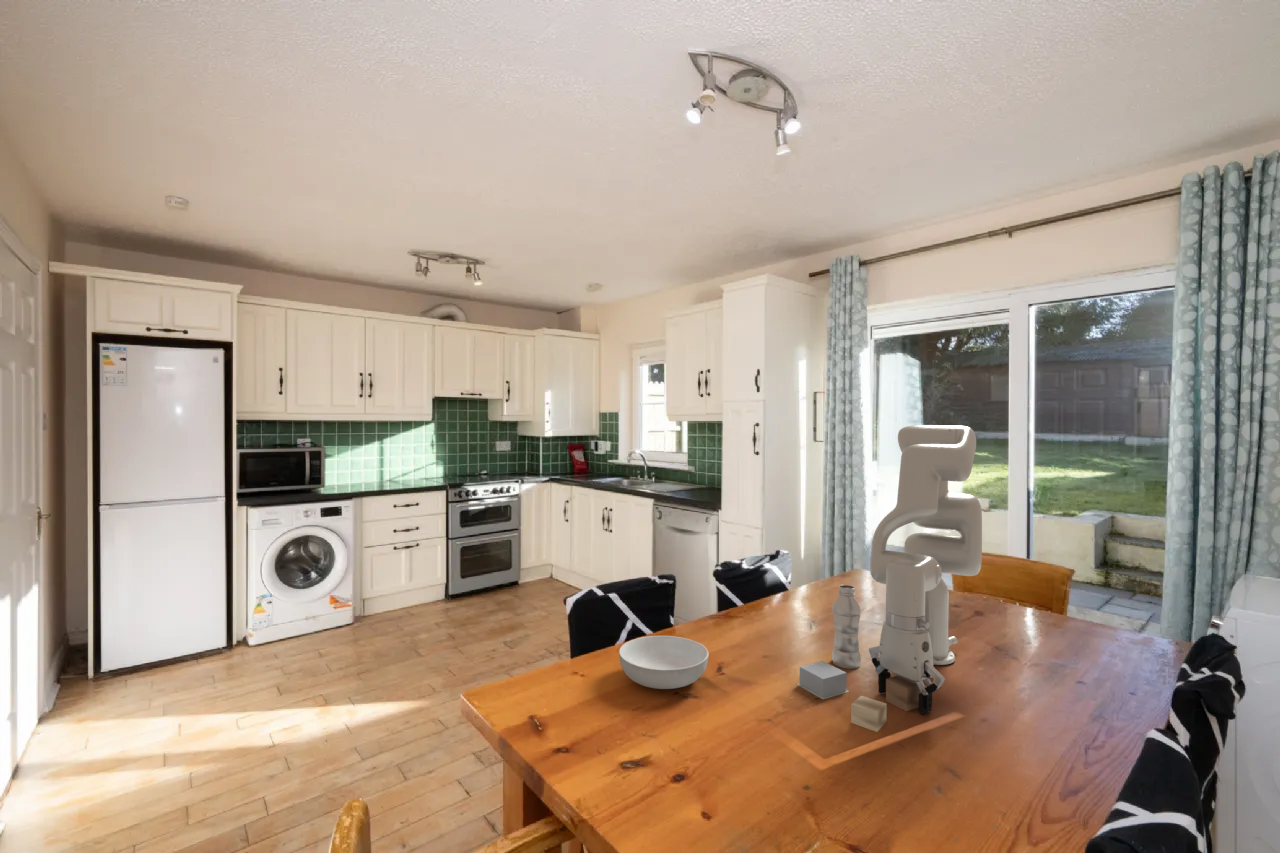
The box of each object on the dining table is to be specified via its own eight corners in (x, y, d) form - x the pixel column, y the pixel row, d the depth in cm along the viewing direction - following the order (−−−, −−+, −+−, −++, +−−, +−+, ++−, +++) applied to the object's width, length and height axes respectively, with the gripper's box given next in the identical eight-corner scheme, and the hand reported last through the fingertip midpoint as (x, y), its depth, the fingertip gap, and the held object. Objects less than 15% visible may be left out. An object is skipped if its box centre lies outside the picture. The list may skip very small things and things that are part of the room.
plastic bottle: (863, 675, 137) (864, 591, 137) (833, 672, 139) (834, 589, 139) (858, 664, 144) (859, 584, 144) (830, 661, 145) (830, 582, 145)
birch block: (860, 720, 117) (861, 695, 117) (886, 729, 114) (886, 703, 114) (851, 729, 113) (851, 704, 113) (877, 739, 110) (877, 713, 110)
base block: (822, 678, 133) (822, 660, 133) (846, 690, 127) (846, 672, 127) (799, 684, 130) (799, 666, 129) (823, 697, 123) (823, 679, 123)
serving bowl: (719, 671, 139) (720, 642, 139) (690, 710, 120) (690, 677, 120) (641, 655, 148) (641, 629, 148) (602, 689, 129) (602, 659, 129)
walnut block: (901, 701, 125) (901, 674, 125) (922, 712, 120) (922, 683, 120) (885, 707, 122) (886, 678, 122) (906, 717, 118) (906, 688, 118)
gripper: (955, 630, 115) (954, 716, 115) (882, 606, 131) (881, 681, 131) (931, 637, 112) (930, 725, 112) (859, 610, 127) (858, 688, 127)
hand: (904, 701), depth 121 cm, fingers open, 9 cm apart
